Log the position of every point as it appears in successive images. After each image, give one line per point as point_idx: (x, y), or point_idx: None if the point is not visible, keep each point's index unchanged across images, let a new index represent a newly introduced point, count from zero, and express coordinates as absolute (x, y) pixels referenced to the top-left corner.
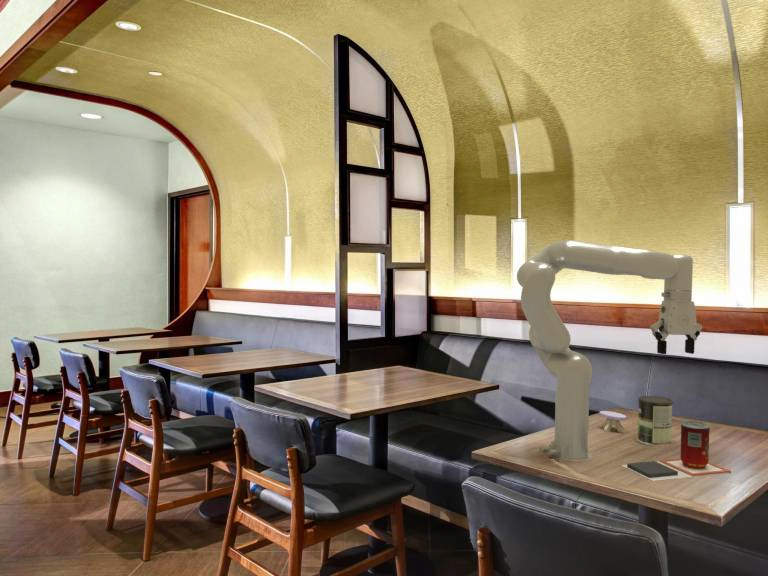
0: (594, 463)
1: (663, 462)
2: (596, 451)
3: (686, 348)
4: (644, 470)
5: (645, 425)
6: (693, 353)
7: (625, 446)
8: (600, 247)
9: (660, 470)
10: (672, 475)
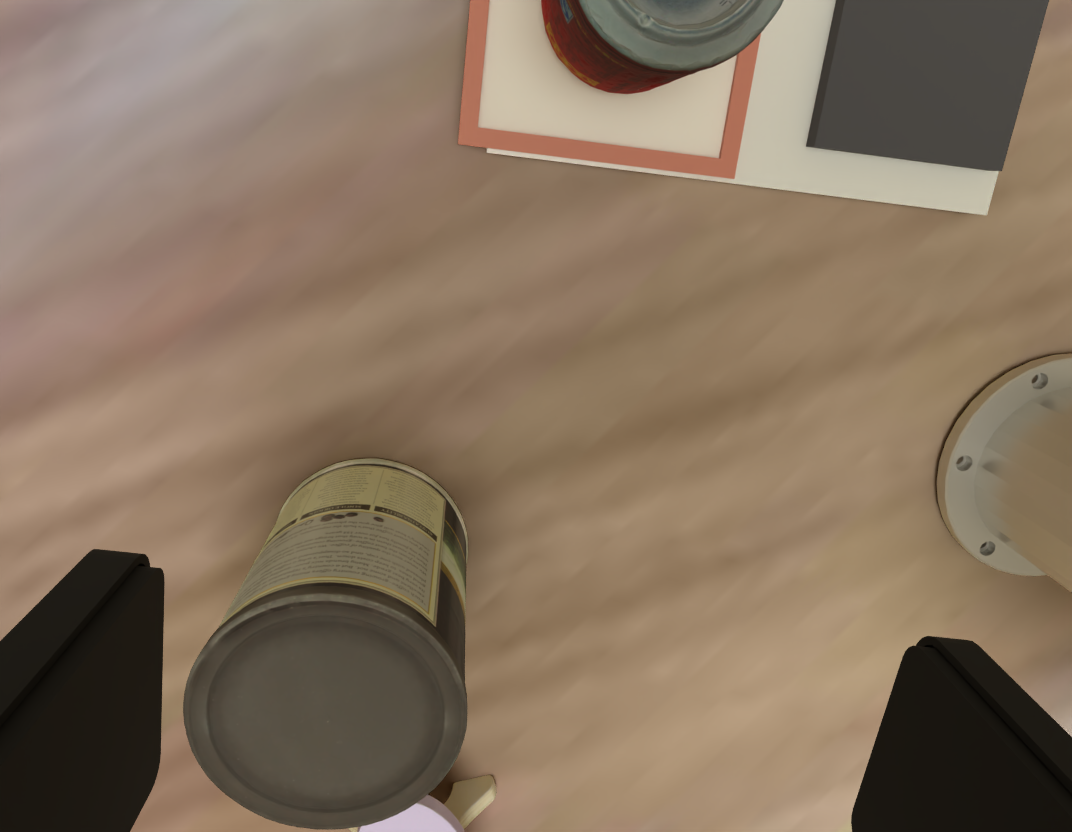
0: (1010, 349)
1: (739, 142)
2: (829, 512)
3: (118, 805)
4: (1024, 24)
5: (462, 585)
6: (113, 551)
7: (604, 533)
8: None
9: None
10: None
